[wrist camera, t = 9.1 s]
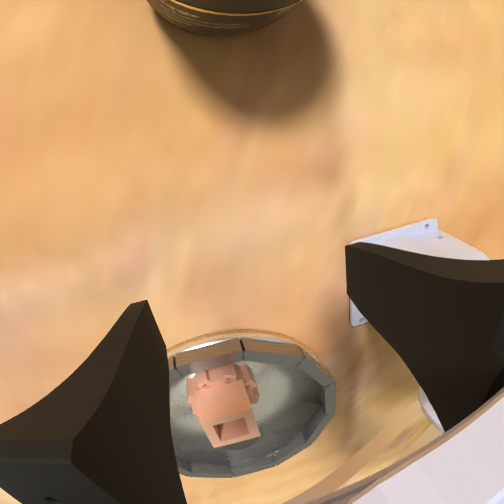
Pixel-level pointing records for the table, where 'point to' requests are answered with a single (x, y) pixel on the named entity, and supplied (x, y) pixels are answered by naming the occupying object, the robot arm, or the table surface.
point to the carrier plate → (265, 411)
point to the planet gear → (225, 403)
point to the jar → (221, 14)
